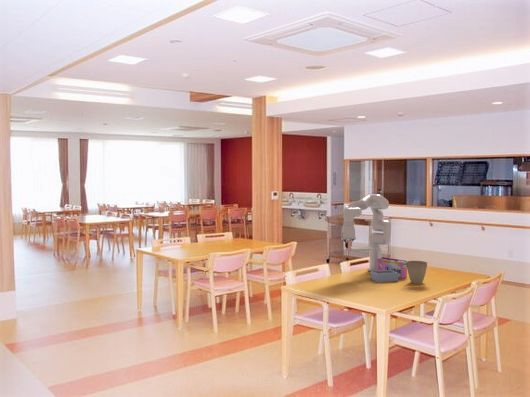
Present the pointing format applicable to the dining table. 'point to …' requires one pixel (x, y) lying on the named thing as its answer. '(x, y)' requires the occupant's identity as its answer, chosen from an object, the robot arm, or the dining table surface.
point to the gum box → (393, 266)
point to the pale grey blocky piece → (358, 247)
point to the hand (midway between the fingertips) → (348, 247)
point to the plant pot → (416, 271)
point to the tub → (384, 276)
